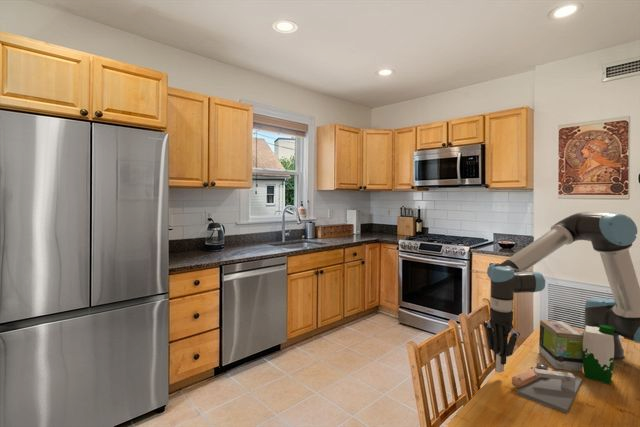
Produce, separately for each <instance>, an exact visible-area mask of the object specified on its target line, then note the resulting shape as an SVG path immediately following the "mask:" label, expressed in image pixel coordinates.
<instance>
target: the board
mask: <svg viewBox="0 0 640 427" xmlns="http://www.w3.org/2000/svg"><path fill="white" fill-rule="evenodd" d="M553 371H558V372H561V371H560V370H556V369H553ZM574 377H575V392H567V391H564V390H563V388H562V387H561V380H559V379H551V378H544V377H541V378H539V379H537V380H535V381H533V382H530V383H528V384H526V385H524V386H522V387H518V390H517V391H516V394H517V395H518V396H521V397H523V398H526V399H528V400H531V401H533V402H536V403H539V404H540V405H541V404H542V405H544V406H546V407H548V408H552V409H555V410H557V411H560V412H562V413H565V414H568V413H569V410H570V409H571V406H572V404H573V402H574V400H575V398H576V395H577V393H578V391H579V389H580V387H581V385H582V383H583V377H582V378H581V377H578V376H575V375H574Z"/></svg>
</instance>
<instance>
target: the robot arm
mask: <svg viewBox="0 0 640 427" xmlns="http://www.w3.org/2000/svg"><path fill="white" fill-rule="evenodd" d="M637 235H638V227H637V224H636V223H635V221H634V220H633V219H632V218H631V217H630V216H628V215H626V214H624V213H623V214H622V213H616V212H591V211H582V212H577V213H574V214H572V215H569V216H567V217H565V218H563V219H560V220H559V221H558V222H556V223H555V224H553V225H551V227H550V230H548V231H547V232H546V233H544V234H543V235H541V236H540V237H539V238H537V239H535V240H534V241H532V242H531V243H529V244H528V245H527V246H525V247H524V248H522V249H521V250H519V251H517V252H516V253H515V254H512V256H510V257H509V258H507V259H506V260H504V261H502V262H501V263H498V262H496V263H495V262H493V263H491V264H489V265H488V267H487V269H486V274H487V277H488V278H489V279H490V297H489V298H490V302H489V304H490V306H489V307H490V309H489V317H490V319H489V320H488V321H486V322H483V326H484V327H483V328H484V329H485V333H486V338H487V343H488V348H489V350H491V351H492V352H493V355H494V356H493V357H494V358H493V360H494V362H495V372H497V373H499V374H501V373H502V372H504V371H505V365H506V364H507V357H510V356H512V355H513V354H514V349H515V345H516V343H517V340H518V338H519V337H520V335H521V333H520V332H519V331H518V332H517V331H516V330H515V329H514V325H513V321H514V311H513V310H514V298H515V297H514V296H515V294H516V293H517V294H520V293H521V294H522V293H533V294H534V293H537V292H541V291H543V290H544V289H545V287H546V279H545V277H544V275H543V274H542V273H541V272H540V271H532V270H531V271H530V270H529V269H530V268H532V267H533V266H535V265H537V264H538V263H540V262H541V261H542V260H543V259H545V258H547V257H548V256H550V255H552V254H553V253H554V252H556V251H558V249H560V248H562V247H563V246H565V245H567V246H568V245H571V244H573V243H575V242H577V241H588V242H591V245H592V248H593V250H594V251H596V252H598V253H599V256H600V258H601V262H602V264H603V267H604V271H605V274H606V279H607V281H608V284H609V288H610V291H611V293H612V294H611V295H612V297H613V299H612V298H605V297H604V298H603V297H591V298H587V299H586V300H585V303H584V304H585V305H584V330H583V332H582V334H583V335H584V332H585V328H586V326H591V327H598V328H599V326H600V325H608V326H611V327H613V328H614V360H615V359H616V360H617V359H623V358H624V355H625V354H624V353H625V351H624V348H623V346H622V342H621V339H620V336H621V337H623V338H625V339H627V340H630V341H633V342H635V343H637V344H638V343H639V344H640V284H639V281H638V277H637V274H636V270H635V267H634V264H633V260H632V256H631V254H630V248H631V247H632V246H633V243H634V242H635V241H636V239H637ZM528 270H529V271H528ZM509 336H510V337H509Z"/></svg>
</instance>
